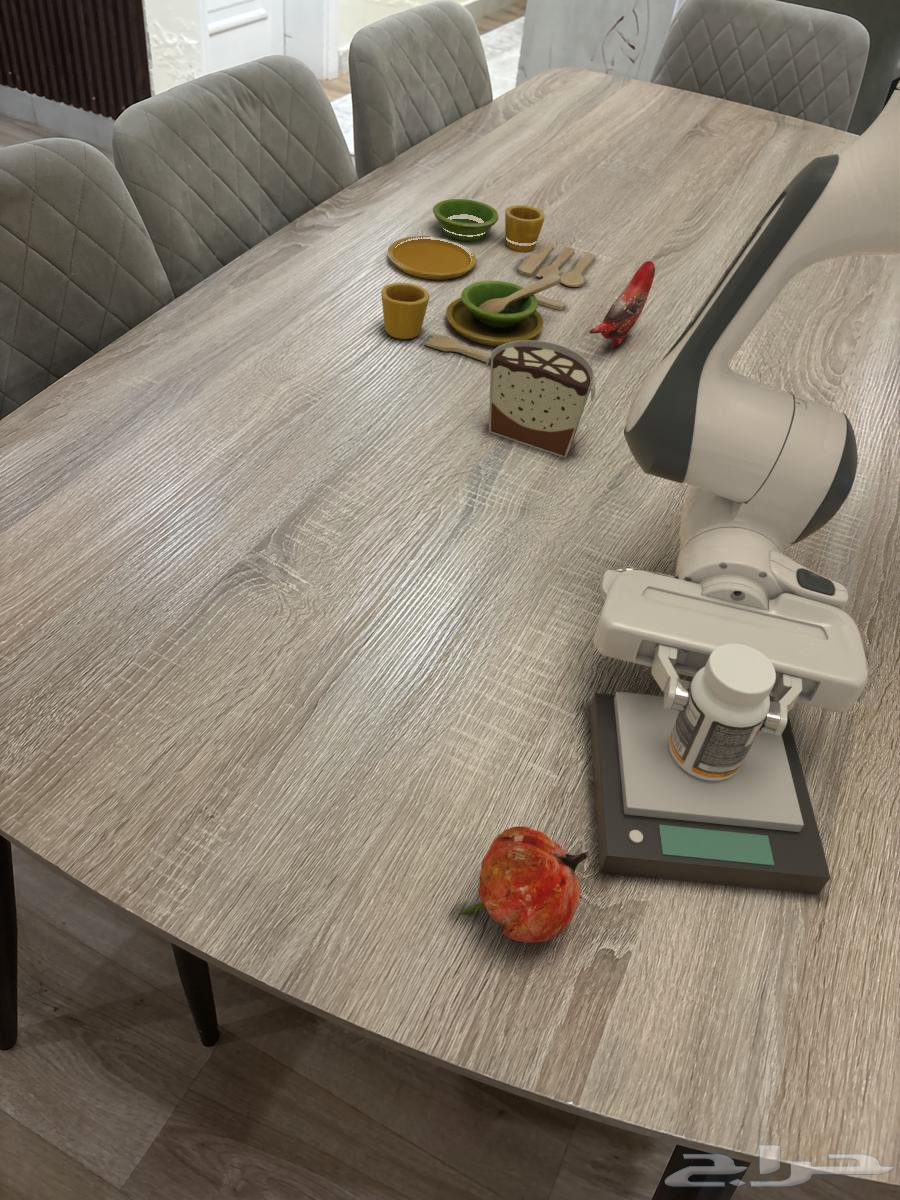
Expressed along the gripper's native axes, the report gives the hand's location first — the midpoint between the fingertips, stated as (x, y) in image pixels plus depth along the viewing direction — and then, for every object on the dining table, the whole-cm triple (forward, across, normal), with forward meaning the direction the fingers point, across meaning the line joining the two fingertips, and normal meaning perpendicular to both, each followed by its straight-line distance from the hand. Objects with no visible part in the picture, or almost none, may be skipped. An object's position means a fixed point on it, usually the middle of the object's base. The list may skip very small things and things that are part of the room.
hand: (724, 716), depth 67 cm
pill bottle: (-1, 0, +6) cm, 6 cm away
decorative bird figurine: (-67, -14, +9) cm, 69 cm away
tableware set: (-77, -35, +9) cm, 85 cm away
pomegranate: (+14, -11, +9) cm, 20 cm away
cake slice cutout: (-44, -20, +9) cm, 50 cm away
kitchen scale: (+1, 0, +9) cm, 9 cm away
